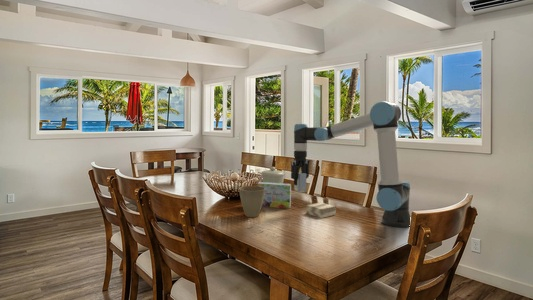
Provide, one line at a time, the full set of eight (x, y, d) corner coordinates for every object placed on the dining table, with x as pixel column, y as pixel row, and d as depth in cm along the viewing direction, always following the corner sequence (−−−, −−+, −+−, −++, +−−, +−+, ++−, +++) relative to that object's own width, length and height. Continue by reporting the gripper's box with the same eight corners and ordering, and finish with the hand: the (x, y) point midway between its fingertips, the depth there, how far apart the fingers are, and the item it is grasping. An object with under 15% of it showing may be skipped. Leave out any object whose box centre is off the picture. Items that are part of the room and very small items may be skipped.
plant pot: (234, 214, 199) (235, 186, 198) (257, 211, 206) (258, 185, 205) (245, 220, 186) (245, 191, 185) (269, 217, 193) (269, 189, 192)
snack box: (256, 206, 218) (256, 183, 217) (258, 204, 223) (259, 181, 222) (289, 208, 213) (290, 184, 212) (291, 206, 218) (291, 183, 217)
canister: (256, 196, 246) (257, 167, 244) (264, 192, 263) (265, 164, 261) (280, 198, 240) (281, 169, 238) (287, 193, 257) (288, 166, 256)
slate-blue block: (306, 190, 201) (306, 173, 201) (300, 191, 198) (300, 174, 197) (300, 189, 205) (300, 172, 204) (294, 190, 202) (294, 173, 201)
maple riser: (335, 214, 201) (335, 206, 200) (321, 218, 193) (322, 209, 193) (320, 210, 210) (320, 202, 210) (306, 213, 203) (306, 205, 202)
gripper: (306, 149, 209) (306, 187, 210) (284, 150, 197) (284, 190, 199) (315, 150, 203) (315, 189, 205) (293, 151, 191) (293, 192, 193)
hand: (300, 189), depth 202 cm, fingers closed on slate-blue block, 5 cm apart
